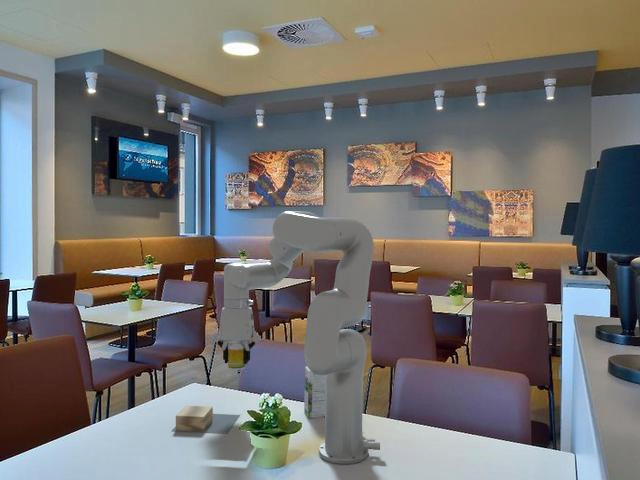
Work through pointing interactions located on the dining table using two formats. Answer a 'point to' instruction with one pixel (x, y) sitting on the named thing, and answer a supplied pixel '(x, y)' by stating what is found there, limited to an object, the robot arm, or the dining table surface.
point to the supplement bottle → (236, 355)
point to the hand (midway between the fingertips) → (236, 361)
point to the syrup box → (314, 394)
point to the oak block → (194, 418)
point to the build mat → (217, 424)
